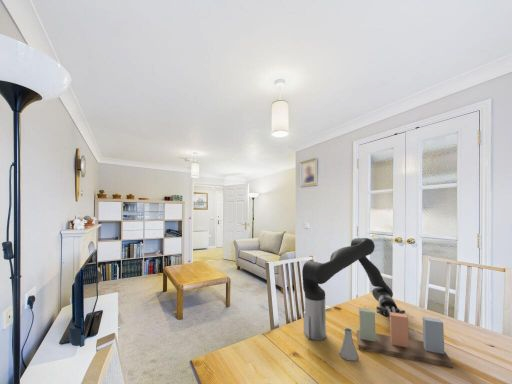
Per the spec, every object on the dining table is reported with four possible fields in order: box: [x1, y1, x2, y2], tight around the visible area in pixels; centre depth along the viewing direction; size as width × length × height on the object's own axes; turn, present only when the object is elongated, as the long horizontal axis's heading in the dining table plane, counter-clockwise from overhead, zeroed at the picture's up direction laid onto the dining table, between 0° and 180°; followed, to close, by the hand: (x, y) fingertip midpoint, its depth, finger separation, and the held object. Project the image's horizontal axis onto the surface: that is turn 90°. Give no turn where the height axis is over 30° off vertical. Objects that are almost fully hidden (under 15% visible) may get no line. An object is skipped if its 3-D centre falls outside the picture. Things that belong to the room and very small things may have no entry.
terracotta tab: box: [389, 312, 409, 348], centre depth 98 cm, size 6×3×12 cm, turn 70°
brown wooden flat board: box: [356, 329, 454, 369], centre depth 98 cm, size 32×12×2 cm, turn 70°
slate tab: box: [422, 316, 445, 354], centre depth 94 cm, size 6×3×12 cm, turn 70°
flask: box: [338, 327, 359, 362], centre depth 94 cm, size 7×7×10 cm
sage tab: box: [358, 307, 376, 342], centre depth 102 cm, size 6×3×12 cm, turn 70°
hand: (394, 319), depth 106 cm, fingers closed
